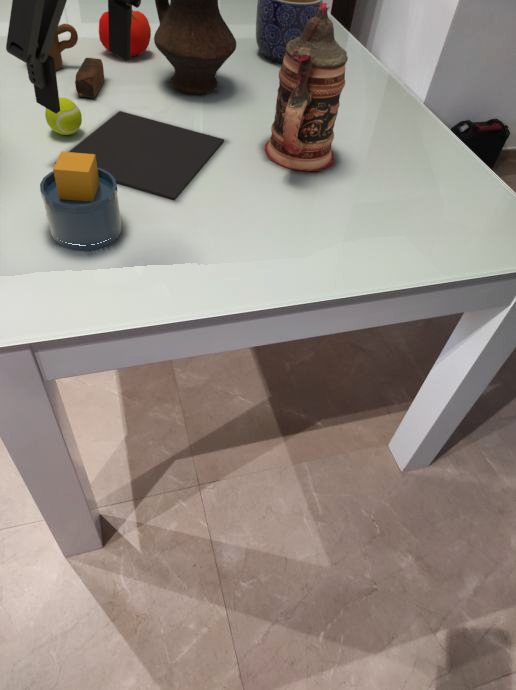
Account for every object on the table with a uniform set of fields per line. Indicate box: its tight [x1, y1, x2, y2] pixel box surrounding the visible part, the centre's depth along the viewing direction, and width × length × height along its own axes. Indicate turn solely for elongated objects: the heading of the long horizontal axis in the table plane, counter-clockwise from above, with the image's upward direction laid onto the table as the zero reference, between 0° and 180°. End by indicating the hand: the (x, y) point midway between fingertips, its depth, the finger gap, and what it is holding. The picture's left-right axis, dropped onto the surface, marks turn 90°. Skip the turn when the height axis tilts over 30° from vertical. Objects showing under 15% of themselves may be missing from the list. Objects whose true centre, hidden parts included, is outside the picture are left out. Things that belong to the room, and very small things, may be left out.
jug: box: [153, 0, 237, 95], centre depth 112 cm, size 21×18×30 cm
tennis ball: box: [44, 97, 83, 136], centre depth 100 cm, size 7×7×7 cm
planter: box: [255, 0, 324, 64], centre depth 135 cm, size 16×16×15 cm
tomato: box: [98, 9, 152, 57], centre depth 127 cm, size 11×13×10 cm
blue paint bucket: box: [39, 168, 123, 251], centre depth 80 cm, size 11×11×8 cm
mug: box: [37, 23, 79, 71], centre depth 118 cm, size 12×8×9 cm, turn 100°
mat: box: [54, 110, 225, 201], centre depth 100 cm, size 24×24×1 cm
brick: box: [74, 57, 105, 99], centre depth 114 cm, size 11×4×5 cm, turn 179°
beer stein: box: [264, 2, 349, 172], centre depth 97 cm, size 17×28×18 cm
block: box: [52, 151, 100, 202], centre depth 76 cm, size 5×5×5 cm
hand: (86, 79), depth 63 cm, fingers open, 13 cm apart
